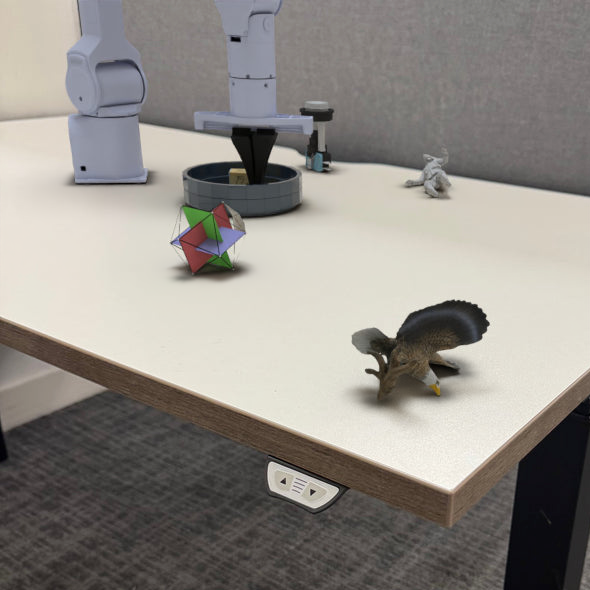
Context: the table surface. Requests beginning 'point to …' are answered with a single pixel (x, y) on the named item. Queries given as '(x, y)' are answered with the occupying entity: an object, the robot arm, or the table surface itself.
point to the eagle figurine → (421, 342)
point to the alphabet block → (238, 177)
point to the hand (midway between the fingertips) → (257, 189)
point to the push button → (318, 135)
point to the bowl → (242, 189)
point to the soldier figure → (433, 174)
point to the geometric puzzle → (209, 236)
